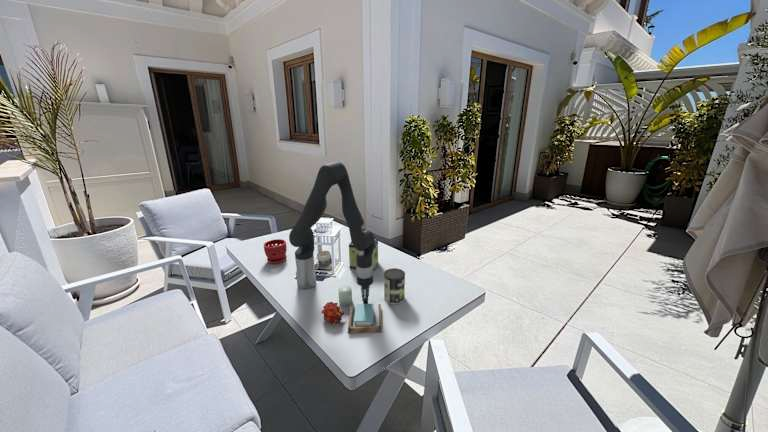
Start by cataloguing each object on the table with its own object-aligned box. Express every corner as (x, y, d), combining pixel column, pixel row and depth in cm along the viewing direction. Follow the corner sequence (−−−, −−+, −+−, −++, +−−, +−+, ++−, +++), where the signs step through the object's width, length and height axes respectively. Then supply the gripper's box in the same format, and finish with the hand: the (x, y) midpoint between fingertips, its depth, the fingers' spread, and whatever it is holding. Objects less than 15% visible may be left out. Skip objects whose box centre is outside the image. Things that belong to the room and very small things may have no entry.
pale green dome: (338, 305, 143) (337, 293, 141) (339, 298, 149) (339, 286, 147) (351, 305, 143) (351, 293, 141) (352, 297, 149) (352, 285, 147)
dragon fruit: (326, 314, 140) (341, 330, 132) (313, 312, 133) (328, 329, 125) (336, 298, 140) (351, 313, 132) (323, 296, 133) (338, 312, 126)
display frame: (348, 333, 126) (347, 328, 125) (351, 309, 141) (350, 304, 140) (381, 332, 126) (381, 327, 125) (380, 308, 141) (380, 304, 140)
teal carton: (354, 329, 128) (354, 321, 126) (356, 311, 139) (356, 303, 138) (373, 329, 128) (373, 320, 127) (373, 311, 140) (373, 303, 138)
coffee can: (408, 296, 150) (408, 271, 146) (398, 307, 142) (398, 281, 137) (390, 290, 155) (390, 266, 151) (380, 300, 147) (379, 275, 142)
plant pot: (292, 258, 189) (290, 241, 185) (275, 267, 179) (272, 249, 175) (278, 253, 196) (276, 236, 192) (261, 261, 185) (258, 244, 181)
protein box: (374, 270, 174) (374, 246, 169) (349, 268, 177) (348, 244, 172) (378, 262, 184) (378, 239, 178) (354, 260, 187) (353, 237, 181)
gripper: (357, 266, 141) (358, 297, 147) (355, 281, 129) (357, 314, 135) (373, 266, 141) (373, 297, 147) (372, 281, 129) (373, 314, 135)
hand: (365, 305), depth 141 cm, fingers closed
